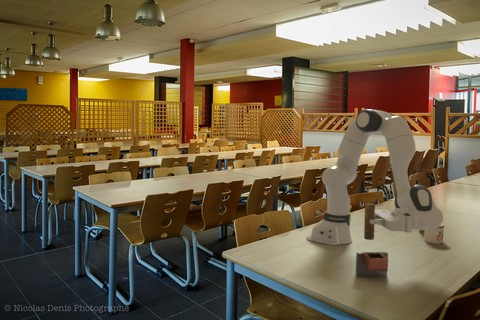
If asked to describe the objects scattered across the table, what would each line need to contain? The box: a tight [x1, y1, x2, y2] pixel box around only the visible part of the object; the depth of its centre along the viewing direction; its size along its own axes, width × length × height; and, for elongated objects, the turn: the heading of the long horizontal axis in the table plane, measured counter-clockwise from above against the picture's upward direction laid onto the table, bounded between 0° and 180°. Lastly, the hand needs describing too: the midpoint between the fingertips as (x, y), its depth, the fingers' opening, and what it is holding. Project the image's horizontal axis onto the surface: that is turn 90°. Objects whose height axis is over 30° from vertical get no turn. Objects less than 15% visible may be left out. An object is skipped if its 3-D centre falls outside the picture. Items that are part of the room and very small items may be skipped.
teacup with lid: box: [423, 222, 445, 245], centre depth 201 cm, size 12×9×12 cm
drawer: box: [355, 251, 389, 278], centre depth 151 cm, size 12×8×10 cm, turn 92°
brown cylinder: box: [363, 203, 376, 241], centre depth 158 cm, size 4×4×14 cm
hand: (367, 219), depth 158 cm, fingers closed on brown cylinder, 4 cm apart
